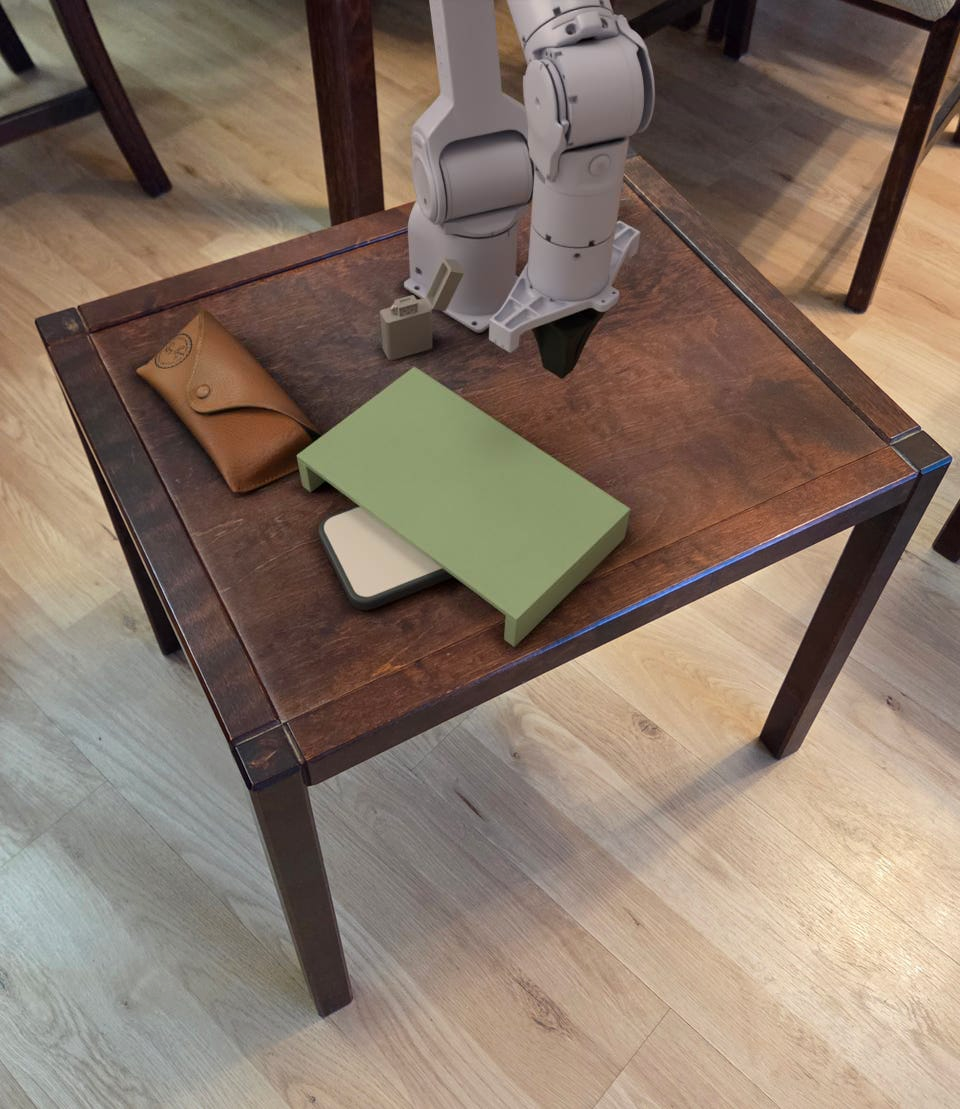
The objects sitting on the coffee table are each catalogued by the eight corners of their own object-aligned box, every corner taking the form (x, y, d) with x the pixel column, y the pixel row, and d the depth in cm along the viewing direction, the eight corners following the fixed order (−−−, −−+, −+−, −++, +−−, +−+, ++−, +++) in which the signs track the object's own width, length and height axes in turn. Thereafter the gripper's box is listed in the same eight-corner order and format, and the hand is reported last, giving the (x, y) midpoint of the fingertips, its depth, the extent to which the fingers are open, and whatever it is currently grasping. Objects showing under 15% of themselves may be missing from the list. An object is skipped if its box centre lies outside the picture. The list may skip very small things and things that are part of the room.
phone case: (358, 620, 76) (553, 541, 80) (355, 608, 75) (554, 529, 79) (314, 532, 81) (501, 461, 85) (311, 519, 79) (501, 448, 83)
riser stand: (302, 486, 83) (296, 455, 80) (415, 398, 89) (414, 366, 86) (514, 647, 75) (516, 619, 72) (624, 538, 81) (631, 508, 78)
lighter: (389, 361, 91) (383, 288, 85) (382, 348, 92) (376, 275, 86) (464, 339, 93) (464, 266, 87) (456, 326, 94) (456, 253, 88)
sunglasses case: (126, 369, 89) (146, 300, 86) (197, 369, 95) (219, 304, 91) (236, 500, 81) (263, 429, 78) (308, 492, 87) (336, 426, 83)
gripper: (550, 302, 66) (537, 447, 77) (685, 197, 72) (655, 344, 83) (466, 252, 68) (465, 399, 79) (604, 155, 75) (585, 303, 86)
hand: (557, 368), depth 81 cm, fingers closed
